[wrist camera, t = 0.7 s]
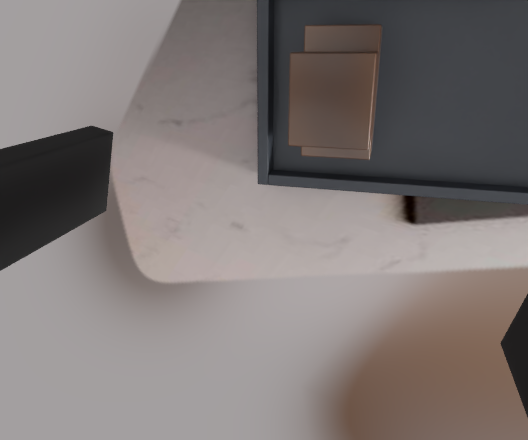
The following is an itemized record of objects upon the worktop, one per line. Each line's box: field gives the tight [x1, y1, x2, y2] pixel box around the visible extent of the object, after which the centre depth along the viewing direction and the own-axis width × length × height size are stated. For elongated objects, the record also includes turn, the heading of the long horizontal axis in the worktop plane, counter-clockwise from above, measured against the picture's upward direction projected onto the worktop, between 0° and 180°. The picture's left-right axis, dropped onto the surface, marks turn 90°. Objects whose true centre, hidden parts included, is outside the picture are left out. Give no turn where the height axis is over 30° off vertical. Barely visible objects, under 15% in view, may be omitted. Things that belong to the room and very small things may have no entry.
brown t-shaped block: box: [288, 24, 383, 160], centre depth 28 cm, size 4×8×8 cm, turn 0°
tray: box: [257, 0, 528, 205], centre depth 30 cm, size 22×14×2 cm, turn 90°
